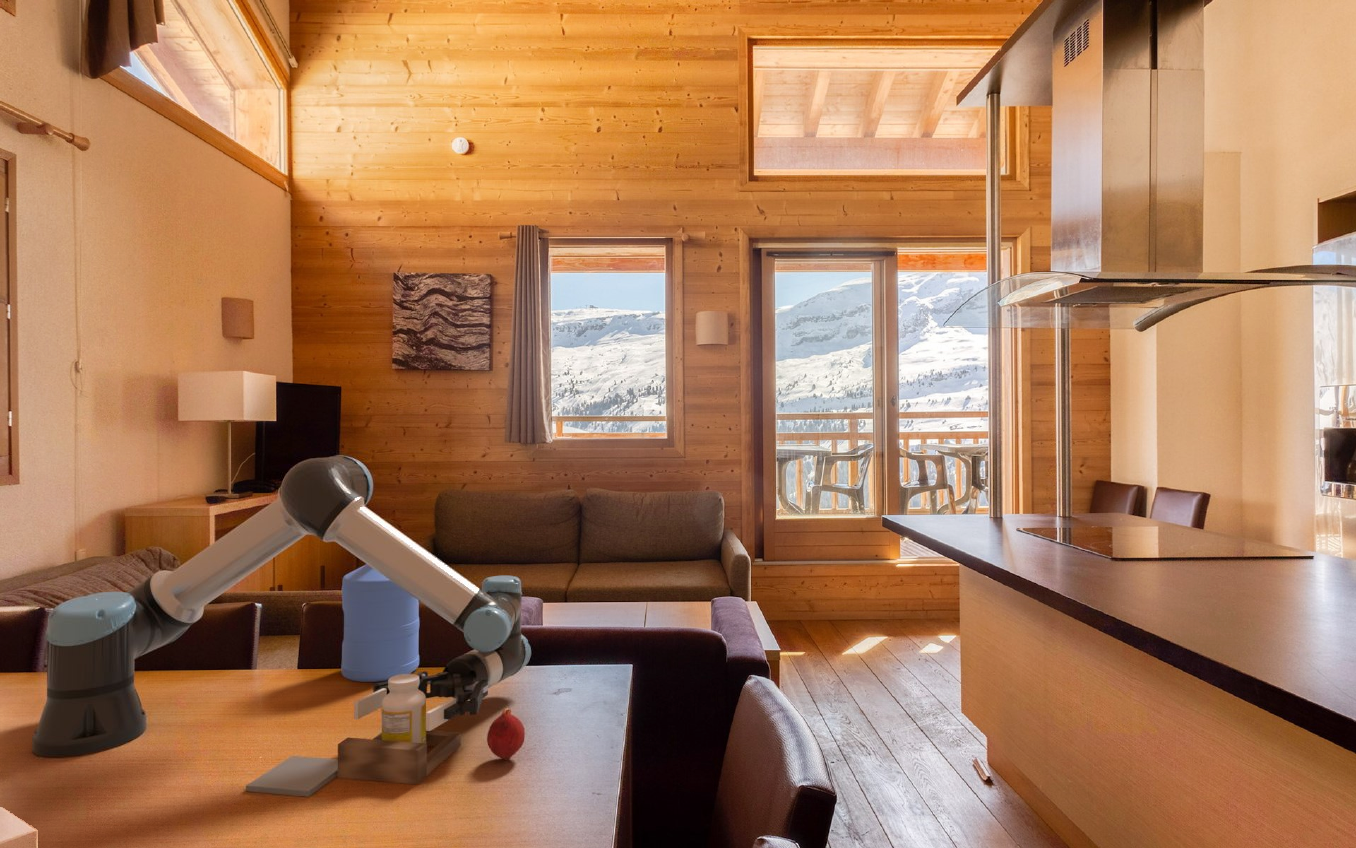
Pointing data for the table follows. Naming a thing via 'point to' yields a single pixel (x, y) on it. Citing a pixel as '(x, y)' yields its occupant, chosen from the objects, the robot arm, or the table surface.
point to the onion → (506, 735)
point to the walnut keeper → (394, 757)
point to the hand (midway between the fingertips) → (391, 716)
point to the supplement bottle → (404, 710)
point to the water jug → (378, 627)
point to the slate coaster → (296, 776)
